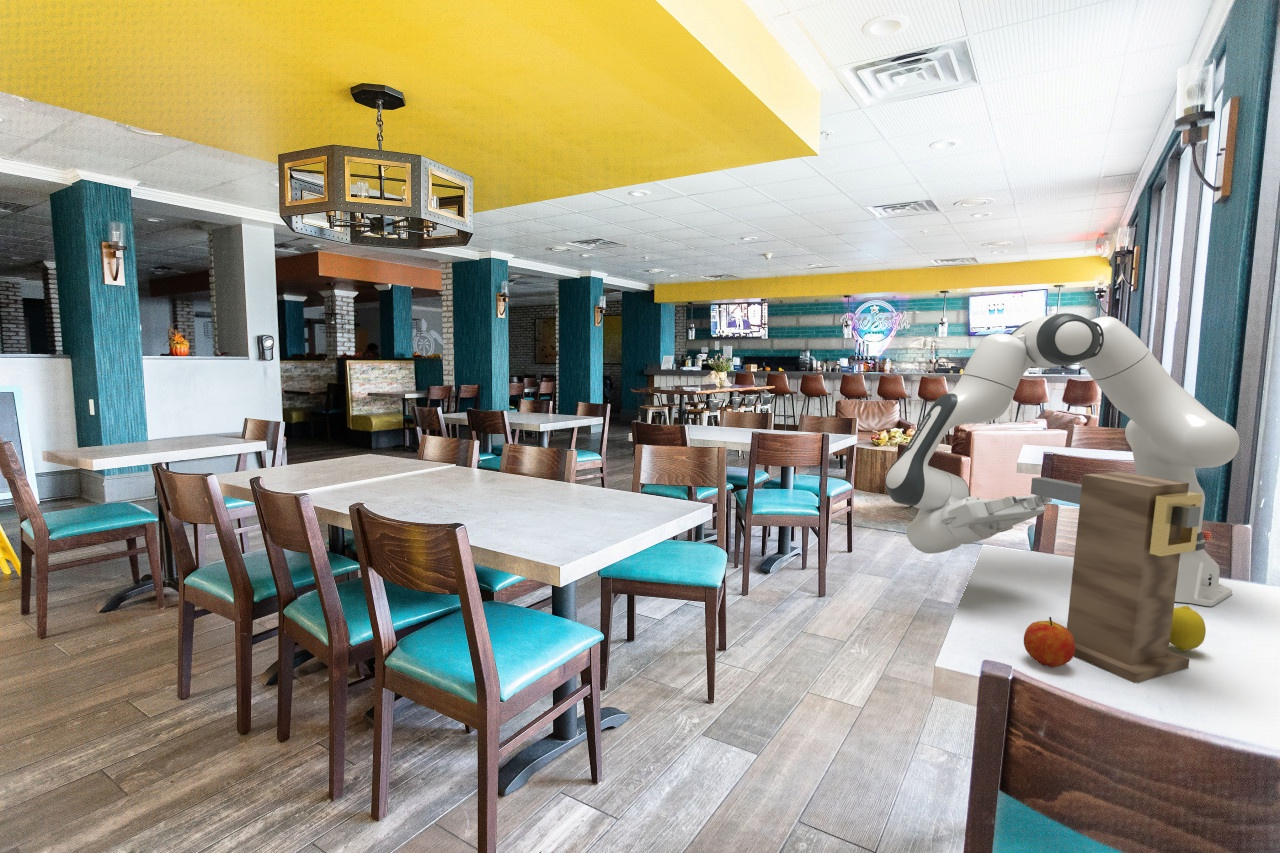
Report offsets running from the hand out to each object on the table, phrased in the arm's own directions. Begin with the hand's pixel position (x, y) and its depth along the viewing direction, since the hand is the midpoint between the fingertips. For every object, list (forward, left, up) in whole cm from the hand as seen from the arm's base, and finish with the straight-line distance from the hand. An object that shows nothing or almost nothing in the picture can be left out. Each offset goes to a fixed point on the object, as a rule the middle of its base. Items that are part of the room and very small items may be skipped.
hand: (1031, 498), depth 119 cm
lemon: (-13, +20, -23) cm, 33 cm away
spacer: (0, +23, -3) cm, 23 cm away
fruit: (+14, +15, -23) cm, 31 cm away
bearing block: (0, +17, -23) cm, 29 cm away
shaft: (0, +13, +1) cm, 13 cm away
